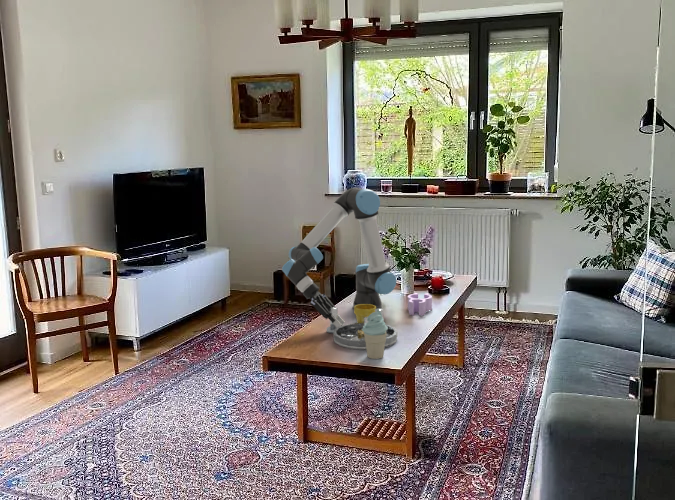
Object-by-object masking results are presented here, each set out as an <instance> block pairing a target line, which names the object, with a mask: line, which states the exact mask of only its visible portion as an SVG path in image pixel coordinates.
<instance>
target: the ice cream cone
mask: <svg viewBox="0 0 675 500" xmlns="http://www.w3.org/2000/svg"><path fill="white" fill-rule="evenodd" d="M384 320H385V319H384V316H383V317H382V314H381V312H380V310H378V309H377V312H373V313H372V314H370V315H369V316H368V318H367V321H368V323H365V326H363V329H362V331H364V336H365V342H366V348H367V350H366V354H367V358H368V359H372V360H377V359H382V358H384V357H385V355H384V354H385V348H386V347H385V342H386V330H387V329H388V327H387V326H386V325H387V324H386V322H385V321H384Z"/></svg>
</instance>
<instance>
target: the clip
mask: <svg viewBox="0 0 675 500" xmlns="http://www.w3.org/2000/svg"><path fill="white" fill-rule="evenodd" d="M407 310H408V315H410V316H415V313H418V316H419V315H422V316H425V315H426V314H425V313H427V312H426V311H428V312H430V311H429V310H431V311H433V296H432V294H430V293H428V292H426V293H424V294H423V298H419V293H417V292H414V293H410V294H408V295H407ZM424 314H425V315H424Z"/></svg>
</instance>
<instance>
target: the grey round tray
mask: <svg viewBox="0 0 675 500" xmlns="http://www.w3.org/2000/svg"><path fill="white" fill-rule="evenodd" d="M378 310H380V312H381V314H382V317H383V318H384V309H383V308H380V309H378ZM375 312H377V309H375ZM367 318H368V317H365V318H364V323H357V322H356V323H355V322H353V323H348V324H343V325H342V326H340V327H338V328H336V329H335V330H334V332H333V342H334V343H335V344H336V345H337V346H340V347H343V348H346V349H350V350H360V351H361V350H363V351H364V350H365V351H367V348H366V342H365V336H364V331H362V329H363V326H365V323H368V321H367ZM385 325H386V326H387V327H388V329H387V330H386V342H385V347H384V348H388V347H390V346H393V345H394V344H396V343H397V341H398V330H397V328H396V327H393V326H391V325H390V324H385Z"/></svg>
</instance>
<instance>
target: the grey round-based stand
mask: <svg viewBox="0 0 675 500" xmlns="http://www.w3.org/2000/svg"><path fill="white" fill-rule="evenodd" d="M335 307H336V306H335ZM335 307H333V308H330V313H331V315H332V314H333V315H334V316H335V317H336V319H337V320H338V314H339V313H338V312H339V311H338V307H336V308H335ZM335 329H336V326H335V325H334V324H333V323H332V322H331V321H330V320H329V326H328V327H326V333H327V334H333V332H334V330H335Z"/></svg>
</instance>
